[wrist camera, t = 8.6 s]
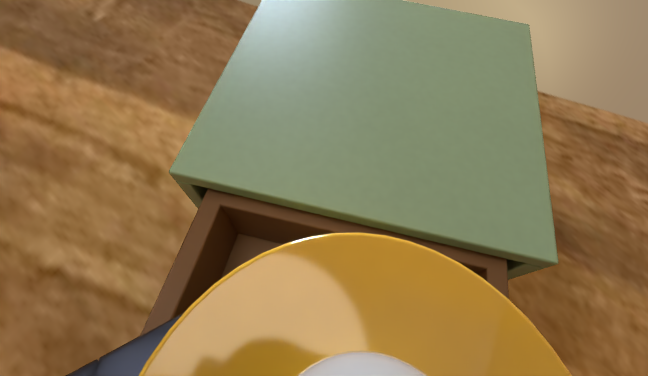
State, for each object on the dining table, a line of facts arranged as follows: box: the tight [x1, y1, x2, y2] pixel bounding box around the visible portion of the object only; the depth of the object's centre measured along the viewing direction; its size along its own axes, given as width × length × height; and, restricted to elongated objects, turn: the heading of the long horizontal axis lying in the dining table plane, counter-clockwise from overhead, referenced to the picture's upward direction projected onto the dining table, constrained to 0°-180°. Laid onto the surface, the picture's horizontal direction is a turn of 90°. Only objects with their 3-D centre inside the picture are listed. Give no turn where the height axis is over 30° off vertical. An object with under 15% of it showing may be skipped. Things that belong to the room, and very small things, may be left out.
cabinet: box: [169, 0, 558, 280], centre depth 17 cm, size 13×14×6 cm
